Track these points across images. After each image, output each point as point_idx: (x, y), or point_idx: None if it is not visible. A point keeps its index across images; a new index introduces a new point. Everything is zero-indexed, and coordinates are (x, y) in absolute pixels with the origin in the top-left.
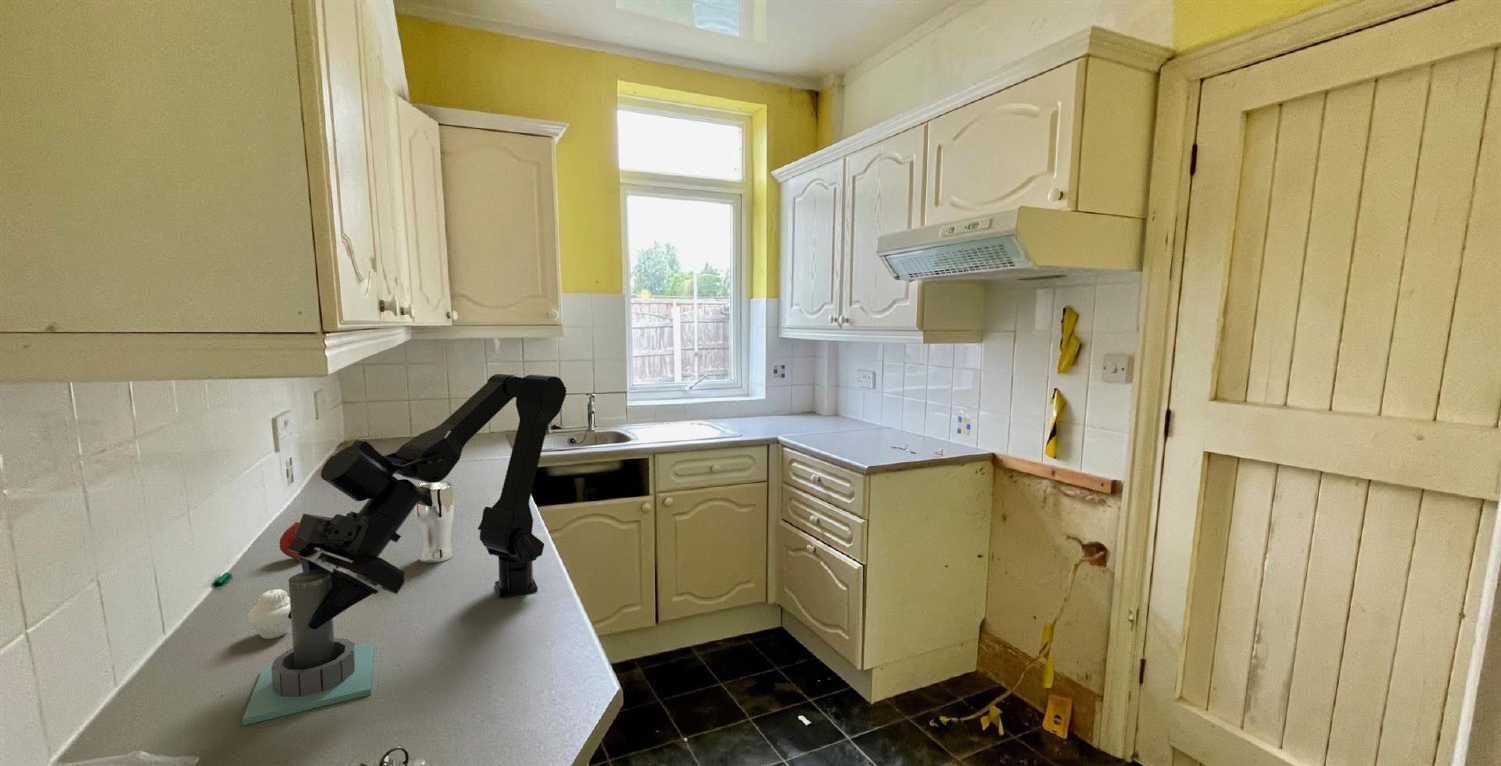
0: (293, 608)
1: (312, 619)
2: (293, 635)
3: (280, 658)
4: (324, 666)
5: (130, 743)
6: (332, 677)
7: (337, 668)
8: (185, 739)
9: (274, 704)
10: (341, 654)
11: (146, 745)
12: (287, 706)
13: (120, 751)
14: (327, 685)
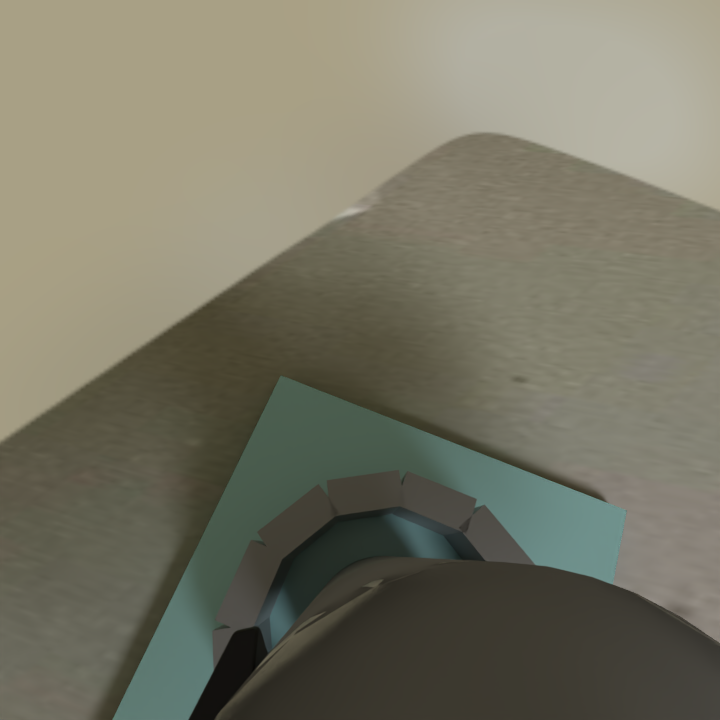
0: (374, 566)
1: (231, 672)
2: (387, 557)
3: (471, 521)
4: None
5: (420, 199)
6: None
7: None
8: (336, 276)
9: (291, 463)
10: None
11: (381, 218)
12: (239, 488)
13: (399, 183)
14: None
